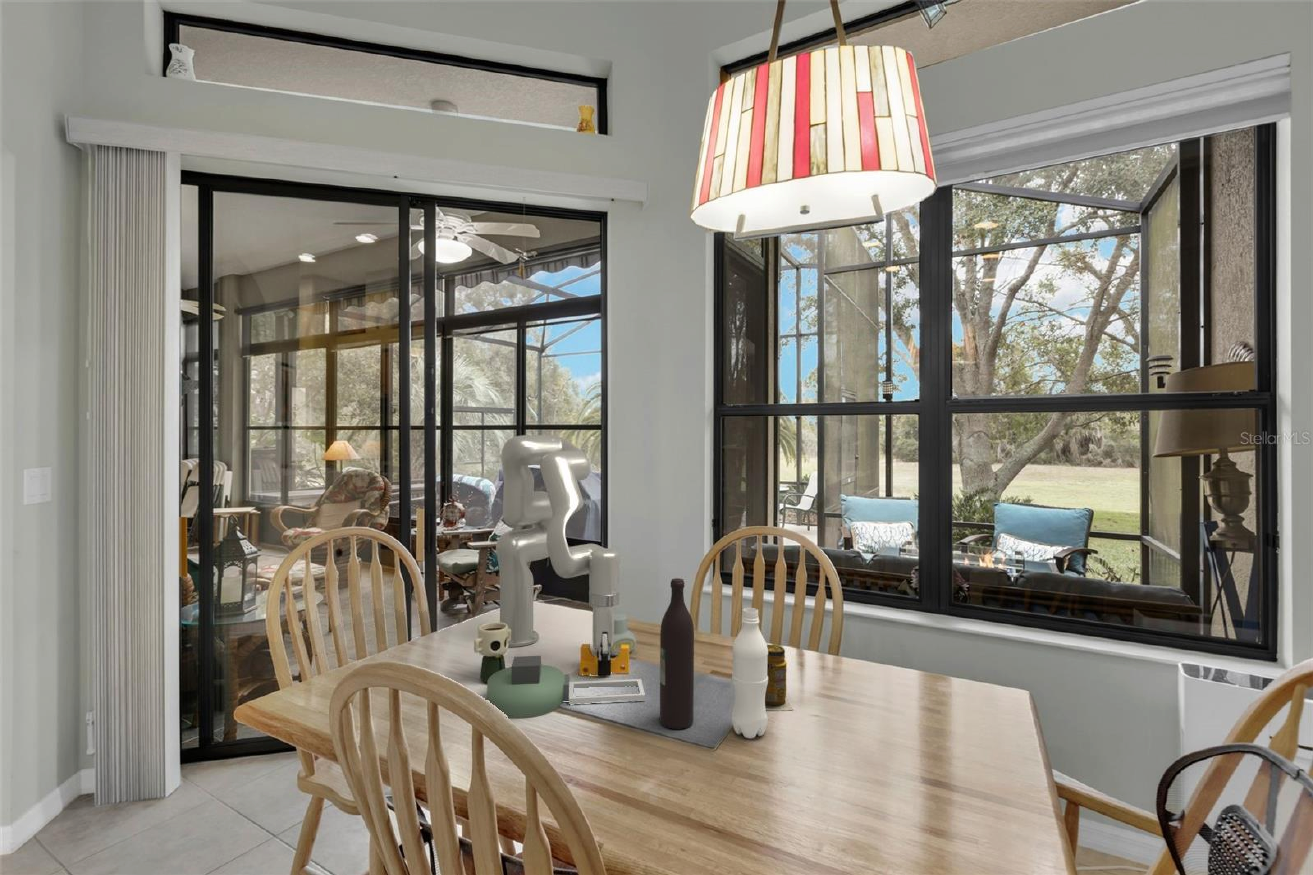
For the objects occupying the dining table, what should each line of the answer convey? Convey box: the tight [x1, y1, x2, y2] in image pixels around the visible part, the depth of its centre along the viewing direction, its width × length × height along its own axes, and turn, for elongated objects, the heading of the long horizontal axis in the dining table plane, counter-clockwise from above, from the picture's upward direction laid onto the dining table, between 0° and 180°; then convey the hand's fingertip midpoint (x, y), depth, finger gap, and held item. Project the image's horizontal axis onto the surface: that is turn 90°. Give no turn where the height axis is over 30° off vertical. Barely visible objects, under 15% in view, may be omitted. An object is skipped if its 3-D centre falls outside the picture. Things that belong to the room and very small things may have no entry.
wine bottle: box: [659, 577, 695, 730], centre depth 131 cm, size 7×7×30 cm
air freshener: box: [610, 612, 637, 657], centre depth 171 cm, size 11×8×10 cm
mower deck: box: [486, 655, 646, 719], centre depth 142 cm, size 17×35×9 cm, turn 97°
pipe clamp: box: [579, 643, 630, 676], centre depth 157 cm, size 12×4×6 cm, turn 88°
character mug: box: [473, 621, 511, 683], centre depth 153 cm, size 11×7×13 cm, turn 143°
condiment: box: [765, 644, 794, 712], centre depth 141 cm, size 7×8×12 cm
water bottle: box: [731, 607, 769, 739], centre depth 127 cm, size 7×7×25 cm
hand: (603, 670), depth 157 cm, fingers closed on pipe clamp, 4 cm apart
